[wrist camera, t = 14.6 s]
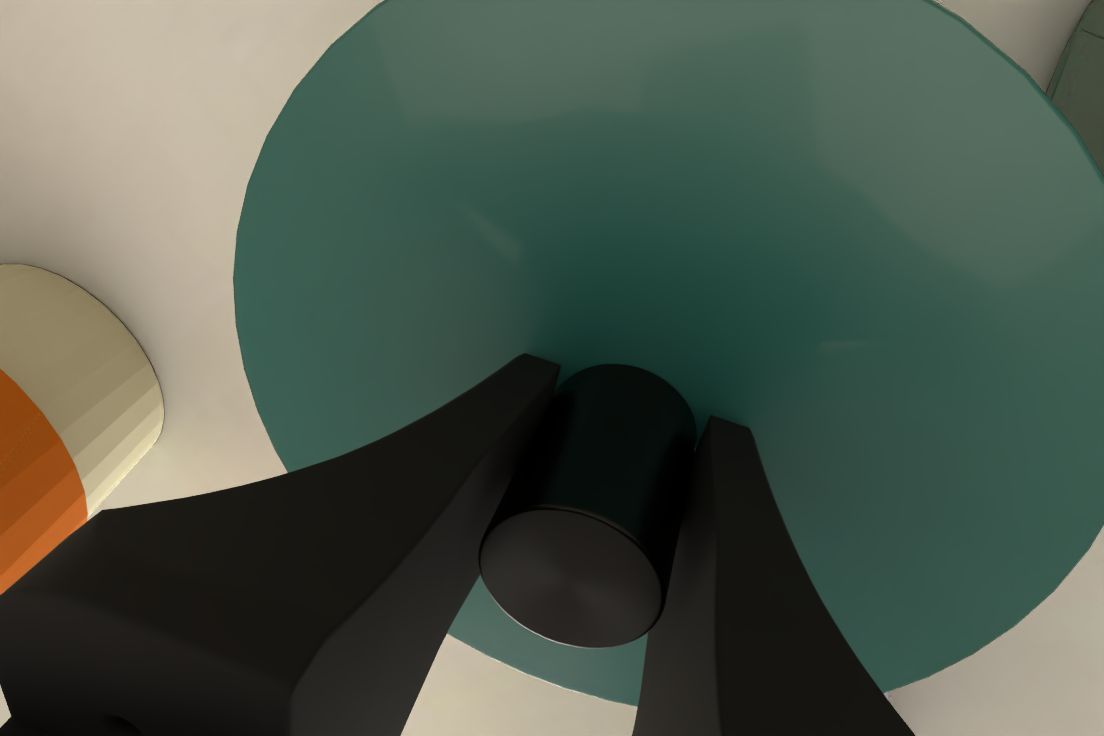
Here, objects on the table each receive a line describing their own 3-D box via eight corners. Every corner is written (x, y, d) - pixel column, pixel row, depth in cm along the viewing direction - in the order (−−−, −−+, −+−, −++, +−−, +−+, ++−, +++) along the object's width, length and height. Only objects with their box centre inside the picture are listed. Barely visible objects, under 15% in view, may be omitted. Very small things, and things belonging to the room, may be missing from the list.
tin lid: (1028, 717, 14) (1109, 999, 11) (374, 626, 18) (268, 806, 15) (1269, -185, 8) (1717, -273, 4) (154, -6, 12) (-144, 33, 8)
